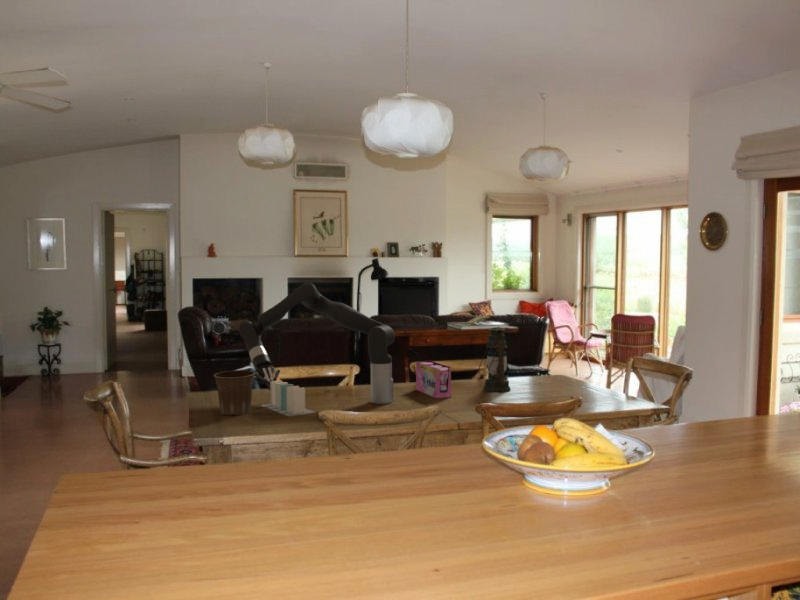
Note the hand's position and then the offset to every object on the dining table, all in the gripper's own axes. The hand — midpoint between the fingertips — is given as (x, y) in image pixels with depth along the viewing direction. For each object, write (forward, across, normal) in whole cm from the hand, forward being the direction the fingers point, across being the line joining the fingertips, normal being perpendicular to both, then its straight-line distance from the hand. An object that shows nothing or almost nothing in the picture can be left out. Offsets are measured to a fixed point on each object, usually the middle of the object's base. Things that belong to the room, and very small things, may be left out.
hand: (273, 390), depth 293 cm
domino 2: (+9, -1, 0) cm, 9 cm away
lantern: (+30, -97, +20) cm, 103 cm away
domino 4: (+20, -1, +11) cm, 23 cm away
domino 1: (+6, -1, -3) cm, 6 cm away
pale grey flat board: (+13, -1, +4) cm, 14 cm away
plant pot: (+7, +18, -2) cm, 20 cm away
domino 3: (+16, -1, +8) cm, 18 cm away
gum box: (+21, -69, +11) cm, 73 cm away
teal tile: (+13, -1, +4) cm, 13 cm away
